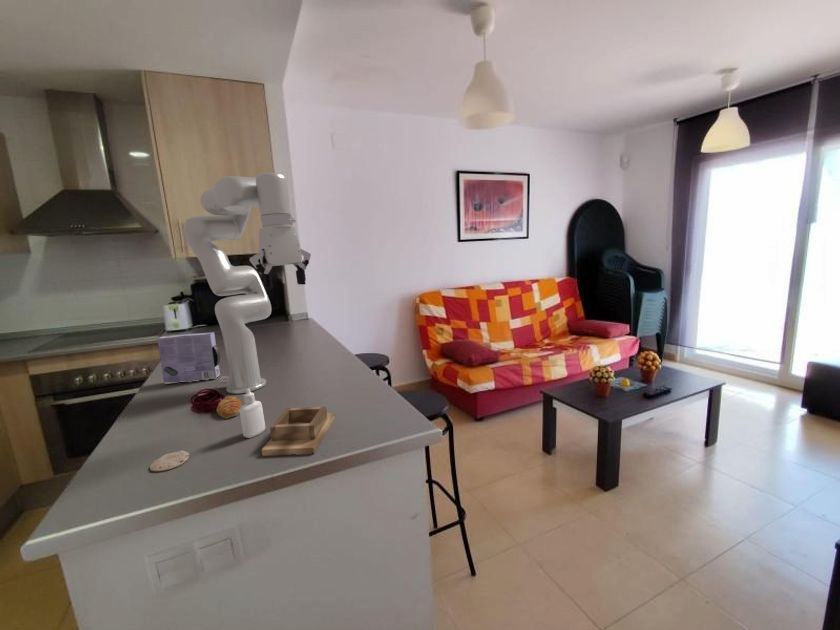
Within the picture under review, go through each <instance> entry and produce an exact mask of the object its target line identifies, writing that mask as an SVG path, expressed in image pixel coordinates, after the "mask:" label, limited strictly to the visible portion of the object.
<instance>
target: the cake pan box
mask: <svg viewBox="0 0 840 630" xmlns="http://www.w3.org/2000/svg"><path fill="white" fill-rule="evenodd" d="M157 345H158V352H159V358H160V364H161V371H162V377H163V384H164V383H165V382H180V381H193V380H205V381H207V380H206V379H215V378H217V377H218V376H219V375H220V376H221V372H220V361H221V351H220V350H219V347H218V346H217V343H216V335H215V332H214V331H213V332H203V333H187V334H176V335H164V336H163V335H162V336H160V337H158V338H157ZM218 378H219V377H218ZM218 378H217V379H218Z"/></svg>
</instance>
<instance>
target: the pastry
mask: <svg viewBox="0 0 840 630" xmlns="http://www.w3.org/2000/svg"><path fill="white" fill-rule="evenodd" d="M241 402H242V401H241V399H239V398H237V397H235V396H226V397H225V398H224V399H221V400H220V401H219V402H218V405H217V407H216V412H217V414H218V415H219V417H221V418H222V419H226V420H227V419H229V418H233V417H235V416H238V415H240V408H241V407H242V406H243V405H242V403H241Z"/></svg>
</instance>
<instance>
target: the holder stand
mask: <svg viewBox="0 0 840 630" xmlns="http://www.w3.org/2000/svg"><path fill="white" fill-rule="evenodd" d="M335 415H336V414H335V412H328V411H327V406H311V407H310V406H309V407H291V408H290V407H287V408H286V409H285V410H284V411H283V412H282V413H281V414H280V416H278V417H277V418H276V420H274V422H273V423H272V425H270V427H269V431H270V436H271V438H270V439H269V441H267V442H266V444H265V445H264V446H263V447H262V449H261V454H262V457H266V456H267V457H268V456H269V457H270V456H290V455H291V454H296V455H313V454H314V453H315V454H316V452H317V450H318V449H319V447H318V446H320V445H321V443H322V441H323V440H324V438H325V436H326V434H327V432H328V430H329V429H330V428H331V426H332V424H333V422H334V420H335V419H336V418H335V417H336V416H335ZM322 439H323V440H322ZM312 453H313V454H312ZM291 456H292V455H291Z"/></svg>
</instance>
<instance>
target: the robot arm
mask: <svg viewBox="0 0 840 630" xmlns="http://www.w3.org/2000/svg"><path fill="white" fill-rule="evenodd" d="M199 199H200V205H201V207H202V208H203V209H204V210H205V211H206V212H207V213H209V214H201V215H193V216H190V217H188V218H186V219H185V220H184V224H183V233H184V237H185V240H186V243H187V245H188V247H189V248H190V249H191V250H190V251H191V252H192V253H193V254H194V255H195V257H196V258H197V259H198V261H199V263H200V265H201V268H202V271H203V272H204V275H205V279H206V281H207V283H208V285H209V288H210V289H211V291H212V293H214V295H216V296H218V297H224V296H225V297H224V298H221V299H220V300H218V301H217V302H216V304H215V306H214V314H215V316H216V320H217V322H218V324H219V327H220V331H221V332H220V333H221V335H222V340H223V347H224V352H225V358H226V363H227V370H228V376H227V375H225V376H224V375H220V377H219V384H227V386H226V388H225V389H226V392H227V393H229V394H234V395H235V394H236V395H237V394H246V389H250V392H251V393H252V392H254V391H256V390H259V389H261V388H264V387H265V386H266V385H267V380H266V378H264V377H262V376H261V371H260V366H259V365H260V364H259V358H258V353H257V345H256V339H255V335H254V333H253V332H252V331H251V329H250V328H248V326H246V325H245V324H248V323H252V322H257V321H262V320H265V319H267V318H268V317H269V318H270V315H271V314H272V304H271V301H270V298H269V295H268V293H267V290H273V289H274V283H273V276H272V273H270V272H271V270H272V268H273V267H276V266H277V267H278V266H287V265H293V266H294V267H295V268H296V270H295V274H296V282H297V285H306V280H307V279H306V273H305V272H306V270H307V266H308V265H309V263H310V259H311V255H312V254H311V253H310V252H308V251H306V250H304V249H302V248H301V244H300V240H299V237H298V233H297V231H296V228H295V227H294V226H293V224H295V223H296V221H297V219H296V218H295V217H292V214H291V205H290V197H289V190H288V183H287V179H286V177H285V175H284V174H282V173H280V172H262V173H259V174H257V175H256V177H253V176H252V177H250V176H237V175H231V176H230V175H229V176H228V175H227V176H225V177H221V178H219V179H217V180H216V181H215V183H214V185H213V187H210V188H208V189H206V190H204V191H203V192H202V193H201V196H200V198H199ZM252 207H259V212H260V213H259V214H260V220H261V226H262V228H259V232H258V252H257V253H256V254H254V255H252V256H251V257H249V262H250V263H251V264H252V266H253V267H252V266H250V265H237V266H236V265H235V266H234V265H232V264H231V262H230V260H229V257H228V255H227V253H225V251H224V250H223V249H221V248H220V247H219V246H217V245H216V244H215V243H213V242H216V241H217V242H218V241H219V242H220V241H236V240H239V239H241V238H242V236H243V234H244V232H245V229H246V226H247V224H248V220H249V219H250V218H249V217H250V215H251V211H252ZM302 256H303V259H302ZM259 260H260V262H259ZM260 275H261V276H260ZM261 277H262V278H261Z"/></svg>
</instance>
